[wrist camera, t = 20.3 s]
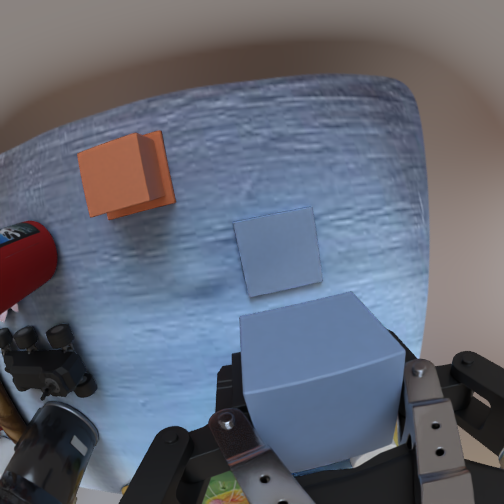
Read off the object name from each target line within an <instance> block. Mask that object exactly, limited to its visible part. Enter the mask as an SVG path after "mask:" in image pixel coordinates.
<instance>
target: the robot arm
mask: <svg viewBox="0 0 504 504" xmlns="http://www.w3.org/2000/svg"><path fill="white" fill-rule="evenodd" d="M387 330H388V329H387ZM388 331H389V332H390V334H391V335H392V336H393V337H394V338H395V339H396V340H397V341H398V342H399V344H400V345H401V346H402V347H403V348H404V349H405V351H406V354H405V365H404V374H403V382H402V390H401V397H400V403H399V410H398V416H397V432H398V446H397V447H394V448H392V449H389V450H387V451H384V452H381V453H379V454H378V455H376V456H374V457H373V458H371V459H369V460H368V461H366V462H364V463H363V464H361V465H359V466H357V467H355V468H350V469H340V470H326V471H320V472H316V473H312V474H307V475H303V476H298V477H294V476H293V475H292V474H291V473H290V471H289V470H288V469H287V467H286V466H285V465H284V464H283V462H282V461H281V460H280V458H279V457H278V456H277V454H276V453H275V452H274V450H273V449H272V448H271V446H270V445H265V443H264V442H263V441H262V439H261V438H260V436H259V435H258V434H257V432H256V431H255V429H254V427H253V424H252V421H251V418H250V415H249V412H248V408H247V405H246V402H245V399H244V396H243V385H242V365H241V352H238V353H233V354H232V365H226V366H222V368H221V369H220V371H219V372H218V374H217V391H216V409H215V413H214V414H213V415H212V416H211V417H210V419H209V422H208V424H207V425H206V426H204V427H202V428H199V429H196V430H194V431H191V432H188V431H187V430H186V429H184V428H182V427H179V426H172V427H168V428H165V429H163V430H161V431H160V432H159V433H158V434H157V435H156V436H155V438H154V440H153V442H152V444H151V445H150V447H149V449H148V451H147V453H146V455H145V456H144V458H143V460H142V462H141V464H140V466H139V467H138V469H137V471H136V473H135V475H134V476H133V478H132V480H131V482H130V484H129V486H128V487H127V489H126V491H125V493H124V495H123V497H122V498H121V500H120V502H119V504H202V503H203V500H204V497H205V494H206V491H207V488H208V485H209V483H210V480H211V477H214V476H216V475H219V474H222V473H225V472H227V471H231V472H232V474H233V476H234V478H235V480H236V481H237V483H238V485H239V487H240V489H241V490H242V492H243V494H244V496H245V497H246V499H247V501H248V502H249V504H504V369H503V368H502V367H500V366H498V365H496V364H495V363H493V362H491V361H489V360H488V359H486V358H484V357H482V356H480V355H478V354H477V353H475V352H471V351H463V352H460V353H458V354H456V355H455V356H454V358H453V361H452V364H448V365H442V366H434V364H433V363H432V362H430V361H428V360H425V359H417V358H416V357H415V355H414V354H413V353H412V352H411V351H410V350H409V349H408V348H407V347H406V346H405V344H403V342H402V341H401V340H400V339H399V338H398V337H397V336H396V335H395V333H394V332H392V331H390V330H388ZM474 392H476V393H477V394H479V395H480V396H482V397H483V398H485V399H486V400H488V402H489V403H490V405H491V408H489V407H488V406H487V405H485V404H484V403H482V402H481V401H479V400H478V399H476V398H475V397H473V393H474ZM457 425H458V426H460V427H461V428H462V429H464V430H465V431H466V432H467V433H469V434H470V435H471V436H473V437H474V438H475V439H477V440H478V441H479V442H480V443H482V444H483V445H484V446H485V447H487V448H488V449H489V450H491V451H492V452H493V453H494V454H496V455H497V456H498V457H499V463H500V468H496V467H492V466H488V465H485V464H481V463H477V462H474V461H470V460H467V459H464V456H463V451H462V446H461V441H460V436H459V432H458V427H457ZM0 427H1V426H0ZM98 439H99V436H98V432H97V430H96V428H95V427H94V425H93V424H92V423H91V422H90V421H89V420H88V419H87V418H86V417H85V416H84V415H83V414H82V413H80V412H79V411H77V410H76V409H74V408H72V407H71V406H69V405H66V404H64V403H61V402H57V401H49V402H47V403H45V404H44V406H43V407H42V408H39V409H38V411H37V412H36V414H35V415H34V417H33V418H32V420H31V421H30V423H29V424H28V426H27V427H26V429H25V431H24V432H23V434H22V435H21V437H20V438H19V440H18V442H17V443H16V445H15V447H14V451H15V453H14V455H13V456H12V458H11V460H10V462H9V463H8V465H7V467H6V469H5V470H4V472H3V474H2V476H1V478H0V504H73V502H74V499H75V496H76V494H77V491H78V488H79V486H80V483H81V480H82V478H83V475H84V472H85V470H86V467H87V465H88V462H89V460H90V457H91V455H92V452H93V450H94V447H95V446H96V444H97V442H98Z"/></svg>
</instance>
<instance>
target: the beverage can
mask: <svg viewBox="0 0 504 504" xmlns="http://www.w3.org/2000/svg"><path fill="white" fill-rule="evenodd" d="M56 266H57V250H56V246H55V243H54V240H53V238H52V236H51V234H50V233H49V231H48V230H47V229H46V228H45V227H44V226H43V225H41V224H40V223H38V222H35V221H26V222H22V223H18V224H15V225H12V226H8V227H5V228H2V229H0V315H1V314H2V313H4V312H5V311H7V310H8V309H9V308H11V307H12V306H13V305H15V304H16V303H18V302H19V301H20V300H22V299H23V298H25V297H26V296H27V295H29V294H30V293H32V292H33V291H35V290H36V289H37V288H39V287H40V286H42V285H43V284H44V283H46V282H47V281H49V280H50V279H51V278H52V276H53V275H54V273H55V270H56Z"/></svg>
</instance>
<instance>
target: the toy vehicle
mask: <svg viewBox="0 0 504 504" xmlns="http://www.w3.org/2000/svg"><path fill="white" fill-rule="evenodd" d="M46 336H47V339H48V341H49V343H50V345H51V347H52V348H54V349H58V348H62V349H58V350H38V349H37V347H36V345H35V343H36V342H37V341H38V338H37V335H36V333H35V331H34V329H33V327H31V326H28V327H24V328H22V329H20V330H18V331H17V332H16V333H15V334H14V336H13V337H14V339H15V342H16V344H17V346H18V348H19V349H26V350H27V351H11V348H10V345H9V344H10V343H11V341H12V337H11V335H10V333H9V330H8V329H7V328H2V329H0V348H1V351H2V355H3V357H4V363H5V365H6V367H5V371H6V372H8V373H10V374H11V375H12V376H13V383H14V384H15V386H16V388H17V389H18V391H21V392H22V391H26V390H28V389H30V388H35V389H41V391H42V392H43V394H42V397H41V398H40V399H41V400H42V401H43V400H45V397H46V396H49V395H50V394H51V395H52V396H56V397H57V396H61V397H66V396H67V394H68V393H70V392H72V391H74V392H75V394H76V395H77V396H78V397H81V398H84V397H88V396H90V395H92V394H93V393H95V391H96V390H97V384H96V382H95V380H94V378H93V377H92V375H91V374H89V373H85V372H86V368H85V366H84V364H83V362H82V359H81V357H80V356H79V355H78V354H76V353H75V350H73V349H74V347H73V345H72V343H71V342H72V341H73V340H74V336H73V333H72V331H71V329H70V327H69V325H68V324H59V325H56V326H54V327H52V328H50V329H49V330H48V331H47V332H46ZM68 346H69V347H68Z"/></svg>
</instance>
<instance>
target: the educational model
mask: <svg viewBox="0 0 504 504" xmlns="http://www.w3.org/2000/svg"><path fill="white" fill-rule="evenodd" d="M202 504H249V502H248V501H247V499H246V497H245V496H244V494H243V492H242V490H241V489H240V487H239V485H238V483H237V481H236V480H235V478H234V476H233V474H232V472H231V471H227V472H225V473H222V474H219V475H216V476H214V477H211V480H210V483H209V485H208V488H207V491H206V494H205V497H204V500H203V503H202Z"/></svg>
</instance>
